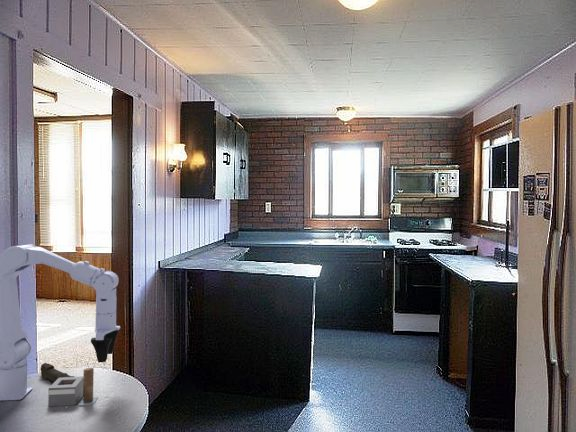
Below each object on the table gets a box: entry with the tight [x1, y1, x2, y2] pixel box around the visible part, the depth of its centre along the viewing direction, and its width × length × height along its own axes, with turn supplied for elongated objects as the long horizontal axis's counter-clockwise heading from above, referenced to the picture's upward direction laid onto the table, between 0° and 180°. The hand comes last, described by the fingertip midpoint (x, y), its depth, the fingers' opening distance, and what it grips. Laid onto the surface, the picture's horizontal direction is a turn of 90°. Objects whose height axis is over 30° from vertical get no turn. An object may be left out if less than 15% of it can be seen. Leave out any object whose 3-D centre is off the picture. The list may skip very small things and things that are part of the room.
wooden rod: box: [82, 367, 95, 403], centre depth 125 cm, size 3×3×9 cm
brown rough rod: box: [40, 362, 76, 383], centre depth 140 cm, size 19×4×5 cm, turn 51°
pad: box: [77, 396, 99, 407], centre depth 125 cm, size 4×5×1 cm
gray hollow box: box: [47, 376, 83, 407], centre depth 126 cm, size 7×8×5 cm
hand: (105, 357), depth 132 cm, fingers open, 7 cm apart
